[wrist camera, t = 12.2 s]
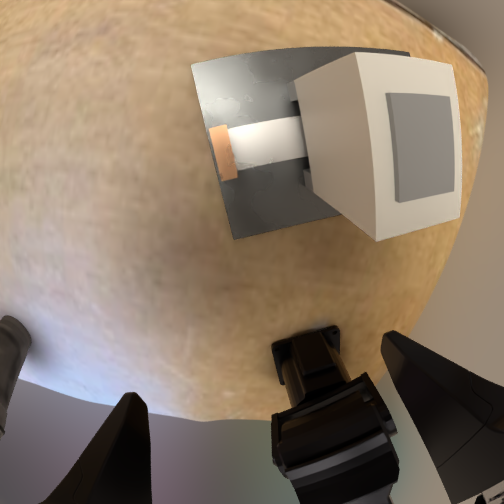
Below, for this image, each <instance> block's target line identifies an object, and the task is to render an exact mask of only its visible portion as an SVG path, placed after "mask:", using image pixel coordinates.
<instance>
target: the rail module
mask: <svg viewBox="0 0 504 504" xmlns="http://www.w3.org/2000/svg"><path fill="white" fill-rule="evenodd" d="M287 87H288V92H289V96H290V101H298V102H299V107H300V112H301V117H302V123H303V128H304V134H305V139H306V145H307V151H308V157H309V164H310V169H304V170H303V173H304V179H305V186H306V188H308V189H309V190H311V191H312V192H313V193H315V194H316V195H317V196H319V197H320V198H321V199H323V200H324V201H325V202H327V203H328V204H329V205H331V206H332V207H333V208H335V209H336V210H337V211H338V212H340V213H341V214H342V215H344V216H345V217H346V218H347V219H349V220H350V221H351V222H353V223H354V224H355V225H356V226H358V227H359V228H360V229H361V230H362V231H364V232H365V233H366V234H367V235H369V236H370V237H371V238H372V239H373V240H375V241H376V242H377V241H381V240H384V239H388V238H392V237H395V236H399V235H402V234H406V233H409V232H413V231H416V230H420V229H423V228H427V227H430V226H433V225H437V224H440V223H444V222H447V221H450V220H454V219H457V218H460V206H461V190H462V141H461V125H460V114H459V105H458V97H457V90H456V84H455V78H454V73H453V68H452V65H451V64H446V63H442V62H437V61H432V60H426V59H420V58H414V57H407V56H400V55H391V54H380V53H366V52H354V53H351V54H349V55H346V56H344V57H342V58H339V59H337V60H335V61H333V62H330V63H328V64H326V65H324V66H322V67H319V68H317V69H315V70H313V71H311V72H309V73H307V74H305V75H303V76H301V77H299V78H297V79H295V80H293V81H291V82H289V83H288V84H287Z"/></svg>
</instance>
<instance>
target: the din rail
mask: <svg viewBox="0 0 504 504" xmlns="http://www.w3.org/2000/svg"><path fill="white" fill-rule="evenodd" d="M354 52H366V53H380V54H391V55H400V56H407V57H410V53H409V52H403V51H396V50H387V49H376V48H362V47H302V48H287V49H276V50H267V51H259V52H252V53H245V54H239V55H233V56H228V57H223V58H218V59H213V60H209V61H204V62H200V63H196V64H192V65H191V68H192V72H193V76H194V81H195V85H196V89H197V94H198V98H199V102H200V106H201V111H202V115H203V119H204V123H205V127H206V131H207V136H208V140H209V144H210V148H211V152H212V156H213V160H214V164H215V168H216V172H217V176H218V180H219V184H220V188H221V192H222V196H223V200H224V204H225V208H226V212H227V216H228V220H229V224H230V227H231V231H232V235H233V239H234V240H236V239H240V238H244V237H248V236H252V235H256V234H260V233H265V232H269V231H273V230H277V229H281V228H285V227H289V226H294V225H298V224H302V223H306V222H311V221H315V220H319V219H323V218H328V217H332V216H336V215H341V213H340V212H338V211H337V210H336V209H335V208H333V207H332V206H331V205H329V204H328V203H327V202H325V201H324V200H323V199H321V198H320V197H319V196H317V195H316V194H315V193H313V192H312V191H311V190H309V189H308V188H306V186H305V179H304V173H303V170H304V169H310V164H309V157H308V151H307V145H306V139H305V134H304V128H303V123H302V117H301V112H300V107H299V102H298V101H290V96H289V92H288V87H287V84H288V83H289V82H291V81H293V80H295V79H297V78H299V77H301V76H303V75H305V74H307V73H309V72H311V71H313V70H315V69H317V68H319V67H322V66H324V65H326V64H328V63H330V62H333V61H335V60H337V59H339V58H342V57H344V56H346V55H349V54H351V53H354Z"/></svg>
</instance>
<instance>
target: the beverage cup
mask: <svg viewBox="0 0 504 504" xmlns="http://www.w3.org/2000/svg"><path fill="white" fill-rule="evenodd" d="M30 345H31V337H30V335H29V333H28V331H27V330H26V328H25V327H24V326H23V325H22V324H21V323H20V322H19V321H18V320H16V319H15V318H13V317H11V316H4V317H3V318H2V319H1V320H0V439H1V437H2V436H3V435H4V434H5V431H4V428H5V424H6V417H7V408H8V405H9V402H10V399H11V396H12V393H13V390H14V387H15V384H16V381H17V379H18V376H19V373H20V371H21V368H22V366H23V363H24V361H25V358H26V356H27V352H28V349H29V347H30Z"/></svg>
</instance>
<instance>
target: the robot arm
mask: <svg viewBox="0 0 504 504" xmlns="http://www.w3.org/2000/svg"><path fill="white" fill-rule="evenodd" d="M333 331H334V332H333ZM277 347H278V348H277ZM271 349H272V353H273V357H274V361H275V365H276V369H277V373H278V377H279V381H280V384H281V385H285V386H286V389H287V393H288V396H289V400H290V404H291V407H292V408H291V409H288V410H286V411H283V412H280V413H275V414H272V423H271V439H272V457H273V464H274V465H275V466H277V467H278V469H279V471H280V472H281V473H282V475H283V476H284V477H285V478H287V479H290V481H291V483H292V485H293V487H294V489H295V492H296V494H297V496H298V499H299V502H300V504H394V503H393V501H392V498H391V496H390V492H391V489H392V486H393V484H394V483H396V482H397V481H398V475H399V466H398V465H399V459H398V456H397V454H396V451H395V449H394V447H393V444H392V442H391V439H390V437H392V436H394V435H396V434H397V433H398V432H397V429H396V426H395V424H394V421H393V419H392V416H391V414H390V412H389V410H388V408H387V406H386V404H385V403H384V401H383V399H382V397H381V396H380V394H379V392H378V391H377V389H376V387H375V386H374V384H373V382H372V381H371V379H370V377H369V376H368V374H367V372H364V373H363V374H361V376H359V377H357V378H355V379H354V380H351V378H350V376H349V374H348V372H347V370H346V368H345V366H344V364H343V362H342V360H341V358H340V330H339V328H338V327H337V326H332V327H329V328H326V329H323V330H319V331H316V332H312V333H309V334H306V335H302V336H299V337H295V338H291V339H288V340H284V341H280V342H276V343H274V344H272V346H271ZM381 354H382V356H383V359H384V361H385V364H386V366H387V368H388V371H389V373H390V376H391V378H392V381H393V383H394V385H395V388H396V390H397V392H398V394H399V395H400V397H401V399H402V401H403V403H404V405H405V407H406V408H407V410H408V412H409V414H410V416H411V418H412V420H413V422H414V424H415V426H416V428H417V430H418V432H419V434H420V436H421V438H422V440H423V442H424V444H425V446H426V448H427V450H428V452H429V454H430V456H431V458H432V461H433V463H434V465H435V467H436V468H437V471H438V474H439V476H440V478H441V480H442V483H443V485H444V487H445V490H446V492H447V494H448V497H449V499H450V501H451V504H457V503H460V502H462V501H465V500H466V499H469V498H471V497H473V496H475V495H477V494H479V493H481V494H480V495H479V496H478V497H477V499H476V501H475V504H504V387H502V386H500V385H497V384H495V383H493V382H490V381H488V380H486V379H484V378H482V377H480V376H478V375H476V374H474V373H472V372H471V371H468V370H467V369H465V368H463V367H461V366H459V365H458V364H456V363H454V362H452V361H450V360H448V359H446V358H444V357H443V356H441V355H439V354H437V353H435V352H434V351H432V350H430V349H428V348H426V347H424V346H423V345H421V344H419V343H417V342H415V341H413V340H411V339H410V338H408V337H406V336H404V335H402V334H400V333H399V332H397V331H394V330H392V331H389V332H387V333H384V335H383V337H382V343H381ZM39 504H152V491H151V443H150V432H149V420H148V408H147V405H146V403H145V402H144V401H143V400H142V399H141V397H140V396H139V395H138V394H137V393H136V392H127V393H125V394H124V395H123V396H122V398H121V399H120V401H119V402H118V403H117V405H116V406H115V408H114V409H113V411H112V412H111V413H110V415H109V416H108V417H107V419H106V420H105V422H104V423H103V424H102V426H101V427H100V429H99V430H98V431H97V433H96V434H95V436H94V437H93V438H92V440H91V441H90V443H89V444H88V446H87V447H86V448H85V450H84V451H83V453H82V454H81V456H80V457H79V459H78V460H77V462H76V463H75V464H74V466H73V467H72V468H71V470H70V471H69V473H68V474H67V475H66V476H65V478H64V479H63V480H62V481H61V483H60V484H59V485H58V486H57V487H56V489H54V491H53V492H52V493H51V494H50V495H49V496H48V497H47V498H46V500H44V501H43V502H41V503H39Z"/></svg>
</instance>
